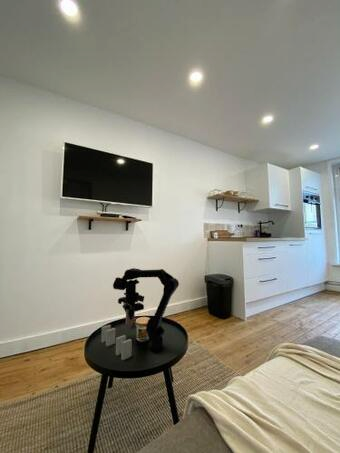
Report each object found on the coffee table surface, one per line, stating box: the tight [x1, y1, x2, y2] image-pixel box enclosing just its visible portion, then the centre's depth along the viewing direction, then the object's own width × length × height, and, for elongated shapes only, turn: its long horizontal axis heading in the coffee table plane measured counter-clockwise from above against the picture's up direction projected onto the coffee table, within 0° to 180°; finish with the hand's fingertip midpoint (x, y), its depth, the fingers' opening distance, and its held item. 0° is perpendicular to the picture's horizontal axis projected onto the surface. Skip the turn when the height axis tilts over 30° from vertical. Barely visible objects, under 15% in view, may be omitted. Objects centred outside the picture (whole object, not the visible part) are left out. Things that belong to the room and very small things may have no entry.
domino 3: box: [115, 334, 127, 356], centre depth 105 cm, size 2×5×8 cm, turn 133°
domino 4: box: [125, 309, 136, 325], centre depth 116 cm, size 2×5×8 cm, turn 133°
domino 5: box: [120, 338, 133, 361], centre depth 101 cm, size 2×5×8 cm, turn 133°
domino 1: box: [100, 324, 112, 343], centre depth 117 cm, size 2×5×8 cm, turn 133°
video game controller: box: [129, 317, 138, 329], centre depth 134 cm, size 10×5×7 cm, turn 74°
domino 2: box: [105, 327, 116, 347], centre depth 113 cm, size 2×5×8 cm, turn 133°
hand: (130, 318), depth 116 cm, fingers closed on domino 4, 2 cm apart
